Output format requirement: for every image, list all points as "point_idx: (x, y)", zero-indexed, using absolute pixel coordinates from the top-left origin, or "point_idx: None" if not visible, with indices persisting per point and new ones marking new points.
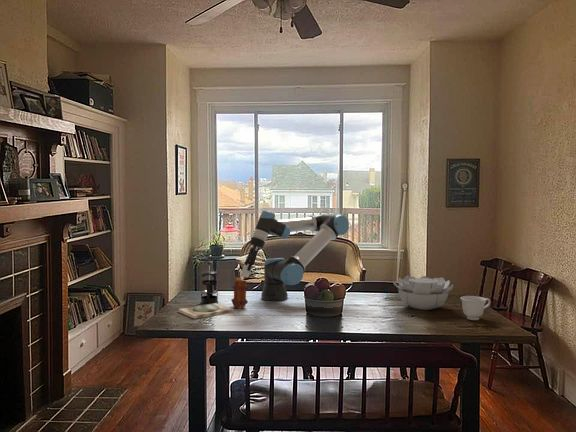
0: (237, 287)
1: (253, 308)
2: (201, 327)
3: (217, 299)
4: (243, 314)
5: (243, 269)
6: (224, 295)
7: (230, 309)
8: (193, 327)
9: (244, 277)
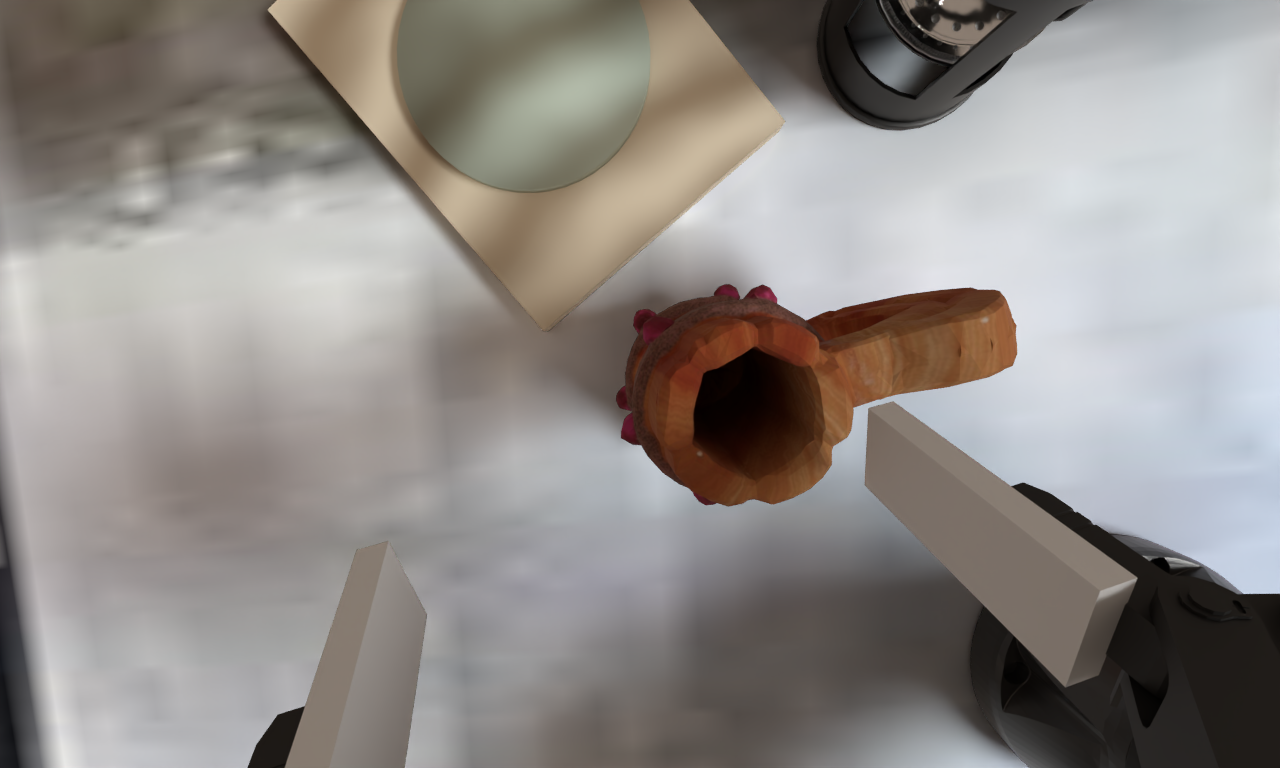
0: (638, 372)
1: (686, 492)
2: (42, 142)
3: (914, 111)
4: (471, 427)
5: (973, 509)
6: (1261, 141)
7: (526, 306)
8: (33, 75)
9: (866, 481)
